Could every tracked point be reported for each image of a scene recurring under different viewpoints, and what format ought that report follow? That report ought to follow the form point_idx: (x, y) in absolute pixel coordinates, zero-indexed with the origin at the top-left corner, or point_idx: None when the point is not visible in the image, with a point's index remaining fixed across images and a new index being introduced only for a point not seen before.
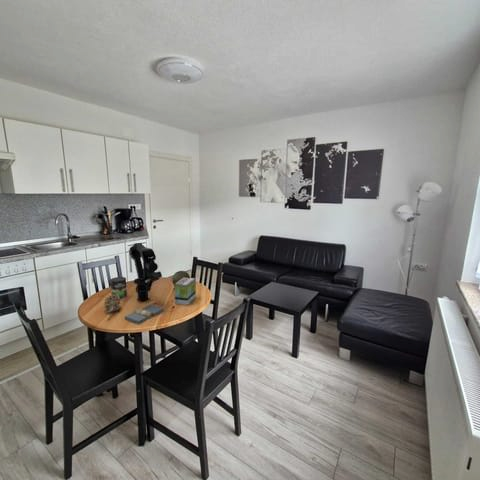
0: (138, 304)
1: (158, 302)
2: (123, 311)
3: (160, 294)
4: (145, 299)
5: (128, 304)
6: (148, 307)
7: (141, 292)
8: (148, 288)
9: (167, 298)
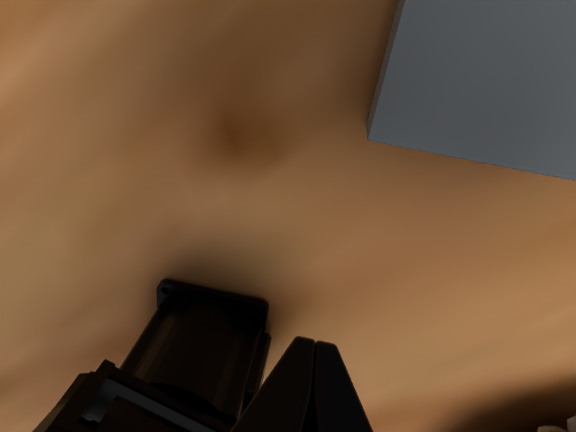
0: (342, 309)
1: (189, 116)
2: (562, 351)
3: (2, 240)
4: (220, 306)
5: (374, 389)
6: (513, 88)
7: (223, 423)
8: (362, 429)
9: (16, 74)
